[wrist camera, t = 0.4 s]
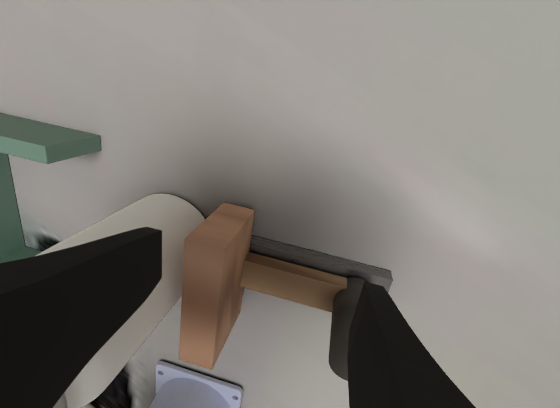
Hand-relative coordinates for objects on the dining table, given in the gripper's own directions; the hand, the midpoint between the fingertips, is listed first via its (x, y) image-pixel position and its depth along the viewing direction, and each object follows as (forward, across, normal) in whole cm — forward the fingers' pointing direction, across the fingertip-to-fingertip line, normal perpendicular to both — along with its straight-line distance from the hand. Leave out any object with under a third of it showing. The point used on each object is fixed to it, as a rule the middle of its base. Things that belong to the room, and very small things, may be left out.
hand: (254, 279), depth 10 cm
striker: (+8, -1, +5) cm, 9 cm away
